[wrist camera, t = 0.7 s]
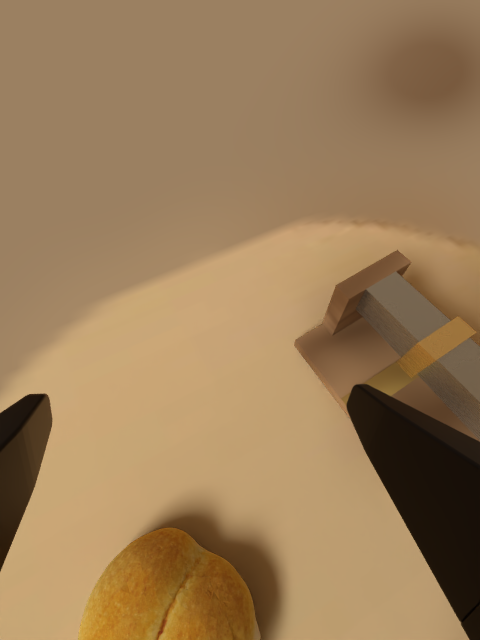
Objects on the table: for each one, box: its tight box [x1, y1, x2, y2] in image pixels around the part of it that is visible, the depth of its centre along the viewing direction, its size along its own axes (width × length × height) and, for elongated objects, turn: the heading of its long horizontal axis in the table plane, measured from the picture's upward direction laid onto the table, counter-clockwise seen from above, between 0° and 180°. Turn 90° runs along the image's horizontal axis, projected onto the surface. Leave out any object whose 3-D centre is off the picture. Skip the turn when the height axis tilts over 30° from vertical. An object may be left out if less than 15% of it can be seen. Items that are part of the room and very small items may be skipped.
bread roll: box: [78, 528, 261, 640], centre depth 15 cm, size 8×9×4 cm
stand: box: [294, 250, 480, 441], centre depth 17 cm, size 20×10×6 cm, turn 31°
